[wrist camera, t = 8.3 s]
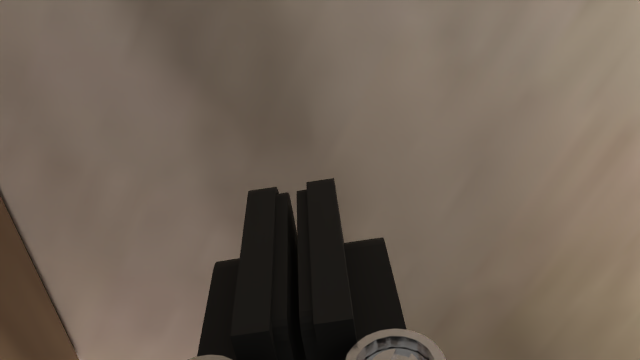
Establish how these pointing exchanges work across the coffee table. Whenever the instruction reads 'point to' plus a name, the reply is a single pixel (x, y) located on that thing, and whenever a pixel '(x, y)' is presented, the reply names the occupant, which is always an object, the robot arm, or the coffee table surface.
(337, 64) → the coffee table surface
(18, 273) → the wooden frame
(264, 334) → the robot arm
